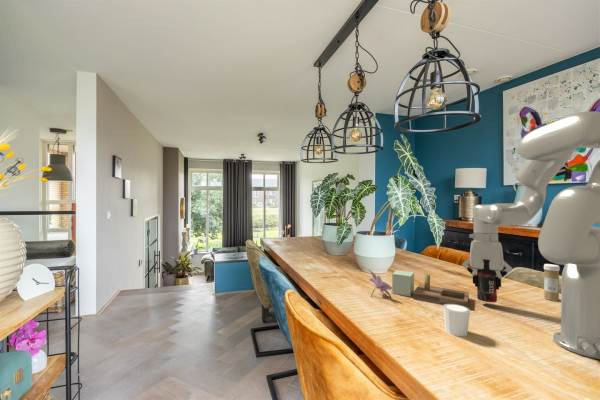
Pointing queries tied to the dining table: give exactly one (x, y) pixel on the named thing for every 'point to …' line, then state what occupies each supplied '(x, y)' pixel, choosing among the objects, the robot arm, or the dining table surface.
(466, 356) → the dining table surface
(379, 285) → the lily
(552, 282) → the sprinkles bottle
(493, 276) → the deodorant
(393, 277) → the green block
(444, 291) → the board
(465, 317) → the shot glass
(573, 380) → the dining table surface
